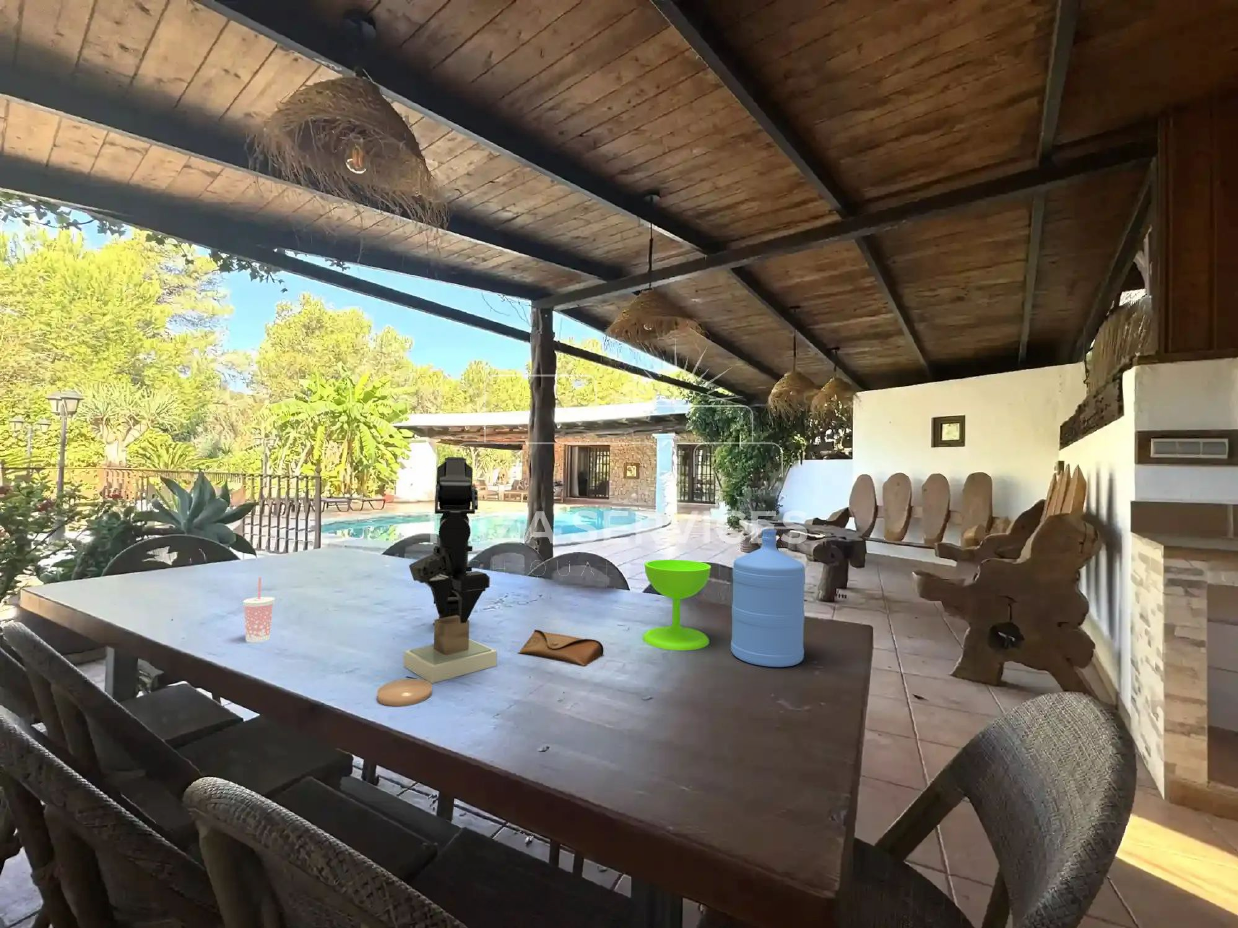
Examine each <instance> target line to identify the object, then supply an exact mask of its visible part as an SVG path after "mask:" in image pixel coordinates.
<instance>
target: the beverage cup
mask: <svg viewBox="0 0 1238 928" xmlns="http://www.w3.org/2000/svg"><path fill="white" fill-rule="evenodd" d="M257 589H258V591H257V597H251V598H247V599H244V600H243V601H242V605H243V607H244V628H245V629H244V630H245V642H247V643H259V642H260V643H261V642H265V641H268V640H270V638H271V628H272V618H273V608H274V603H275V601H276V600H275V599H276V598H275V597H273V596H261V593H262V590H261V589H262V577H258V588H257Z"/></svg>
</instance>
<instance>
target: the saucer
mask: <svg viewBox="0 0 1238 928" xmlns="http://www.w3.org/2000/svg"><path fill="white" fill-rule="evenodd" d="M432 694H433V683H430V682H429V681H427V680H426V679H423V678H421V679H420V678H404V679H398V680H394V681H391V682H388V683H385V684H383V685H382V686H380V687H378V689H377V692H376V701H377V702H378V703H379V704H380V705H383V706H389V707H405V706H406V707H407V706H410V705H411V706H412V705H416V704H418V703H422V702H424V701H426V700H427V699H429V698H430V697H431V696H432Z"/></svg>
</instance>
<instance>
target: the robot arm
mask: <svg viewBox="0 0 1238 928" xmlns="http://www.w3.org/2000/svg"><path fill="white" fill-rule="evenodd" d="M473 477H474V476H473V467H472V466H471V465H470V464H468V463H467V458H465V457H463V456H447V457H444V462H442V464H440V465H439V466H437V467H436V485H435V493H434V494H435V496H434V497H435V498H434V514H435V515H441V516H440V517H439V526H438V539H439V541H438V545H434V548H433V552H432V553H433V554H431V555H428V556H427V555H426V556H424V557H422V558H421V559H418V560H416V561H414V562H412V563H410V564H409V565H408V566H409V570H410V574H411V575H412V579H413V581H414V582H416V581H417V582H419V583H420V584H426V586H427V587H429V588H430V590H431V594H432V598H433V604H434V605H435V607H436V611H437V614H438V619H440V618H445V617H451V616H456V615H457V616H460V622H461V623H466V622H467V620H469V618H470V616H471V614H472V612H473V611H474V608H475V606H476V605H477V602H478V600H479V599H480V597H481V596H482V594H483V592H486V590H487V589H489V588H490V586H491V585H490V584H491V583H490V582H491V577H490V576H489V575H488V574H487V573H485V572H482V571H478V570H474V571H473V566H472V565H469V552H473V546H472V545H469V539H470V537H471V526H470V517H469V516H468V515H476V511H478V510H479V494H478V492H479V491H478V490H477V489H476V488H477V486H476V485H475V484H474V485H473V479H474V478H473ZM432 626H434V622H432Z"/></svg>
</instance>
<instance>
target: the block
mask: <svg viewBox="0 0 1238 928" xmlns="http://www.w3.org/2000/svg"><path fill="white" fill-rule="evenodd" d="M433 620H434V622H433V623H434V625H433V645H434V650H436V651H438V652H440V653H442V654H444V655H449V654H453V653H458V652H462V651H466V650H469V639H470V619H468V620H467V622H466V623H461V622H460V616H457V615H456V616H451V617H445V618H440V619H439V618H435V619H433Z"/></svg>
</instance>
